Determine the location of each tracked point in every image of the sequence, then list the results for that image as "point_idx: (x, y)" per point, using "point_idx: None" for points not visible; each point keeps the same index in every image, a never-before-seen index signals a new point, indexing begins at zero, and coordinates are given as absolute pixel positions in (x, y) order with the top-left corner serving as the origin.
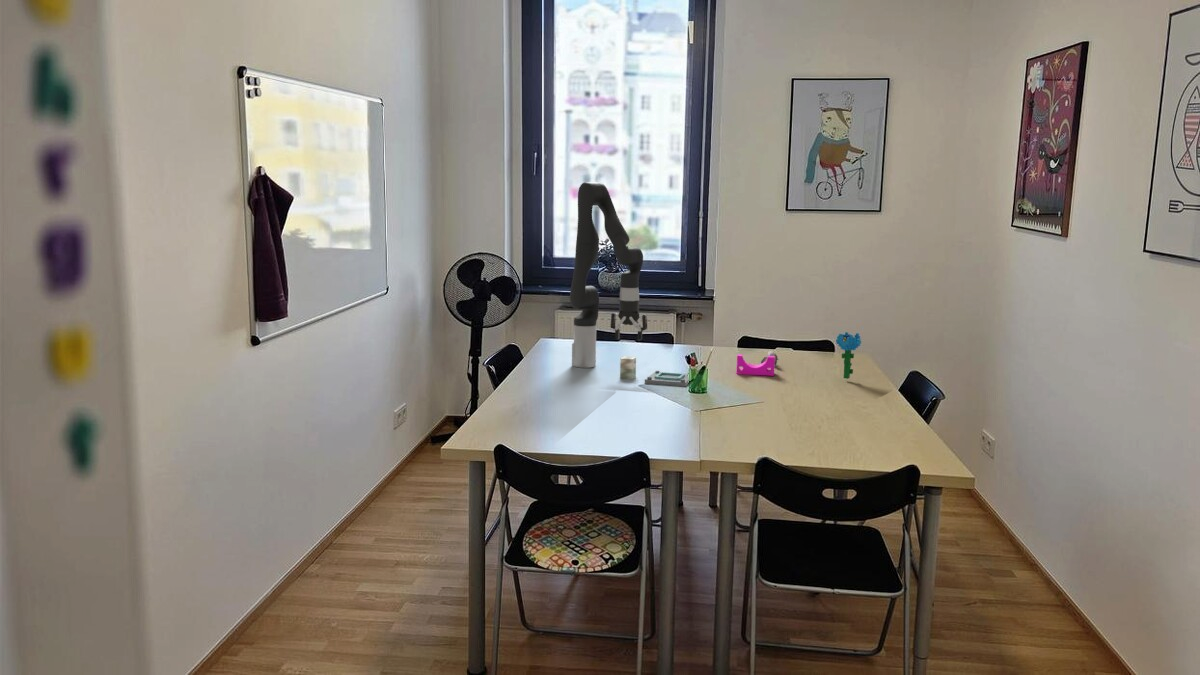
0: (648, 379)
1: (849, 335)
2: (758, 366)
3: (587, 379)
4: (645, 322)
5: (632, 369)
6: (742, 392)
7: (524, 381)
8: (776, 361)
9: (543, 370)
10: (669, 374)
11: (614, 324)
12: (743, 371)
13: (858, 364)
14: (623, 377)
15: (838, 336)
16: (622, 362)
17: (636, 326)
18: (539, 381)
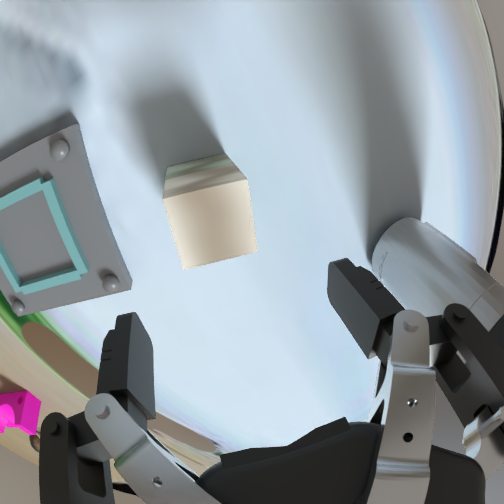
0: (60, 138)
1: None
2: (9, 411)
3: (339, 71)
4: (40, 496)
5: (165, 180)
6: None
7: (457, 10)
8: (30, 439)
9: (467, 163)
10: (54, 273)
11: (442, 368)
12: (18, 395)
13: (18, 453)
14: (209, 157)
15: None
16: (228, 175)
17: (135, 446)
18: (436, 11)
